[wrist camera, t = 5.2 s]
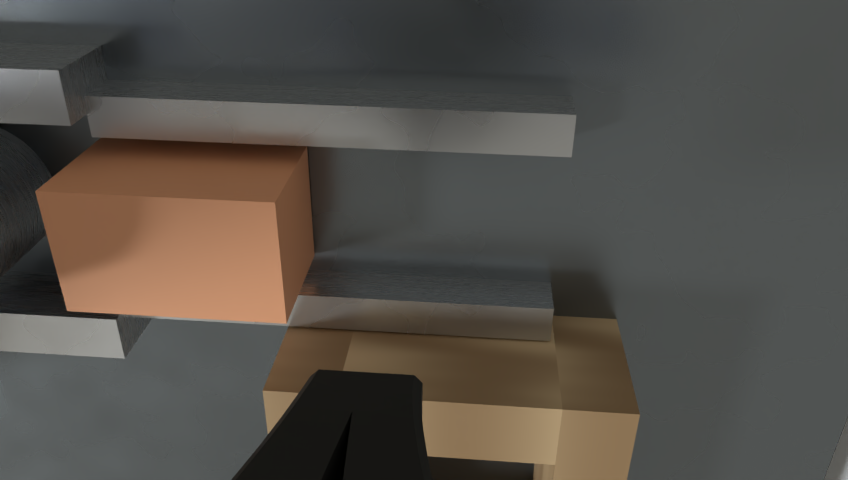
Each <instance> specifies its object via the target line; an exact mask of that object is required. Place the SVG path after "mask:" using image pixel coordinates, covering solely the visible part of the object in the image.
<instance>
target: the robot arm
mask: <svg viewBox="0 0 848 480" xmlns="http://www.w3.org/2000/svg"><path fill="white" fill-rule="evenodd" d="M422 399H423V383H422V382H421V381H420V380H419V379H418V378H417V377H416V376H415V375H406V374H389V373H372V372H355V371H338V370H321V369H319V370H317V371H316V372H315V373H314V374H312V375H311V376H310V377H309V379H308V380H307V382H306V383H305V385H304V386H303V388H302V389H301V390H300V392H299V393H298V395H297V396H296V397H295V399H294V400H293V402H292V403H291V404H290V406H289V407H288V409H287V410H286V411H285V413H284V414H283V415H282V417H281V418H280V419H279V421H278V422H277V423H276V425H275V426H274V427H273V429H272V430H271V431H270V432H269V434H268V435H267V436H266V438H265V439H264V440H263V442H262V443H261V444H260V445H259V447H258V448H257V449H256V450H255V452H254V453H253V454H252V455H251V456H250V458H249V459H248V460H247V461H246V462H245V464H244V465H243V466H242V467H241V469H240V470H239V471H238V472H237V473H236V475H235V476H234V477H233V478H232V479H231V480H433V479H432V475H431V470H430V466H429V461H428V456H427V450H426V444H425V438H424V431H423V422H422Z"/></svg>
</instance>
